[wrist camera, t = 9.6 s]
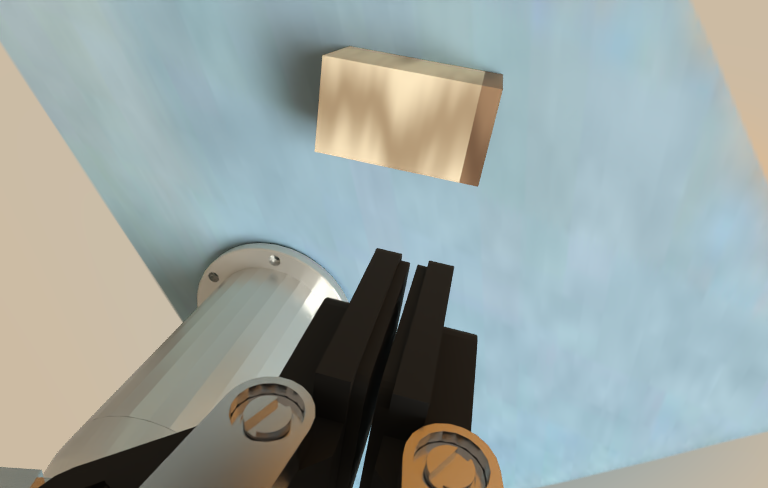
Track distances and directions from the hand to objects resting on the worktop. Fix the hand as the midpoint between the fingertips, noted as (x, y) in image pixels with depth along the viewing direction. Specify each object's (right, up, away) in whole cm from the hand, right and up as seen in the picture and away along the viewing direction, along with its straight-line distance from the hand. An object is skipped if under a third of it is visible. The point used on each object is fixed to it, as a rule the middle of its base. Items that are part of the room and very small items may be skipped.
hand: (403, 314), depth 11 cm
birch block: (+5, +8, +16) cm, 19 cm away
